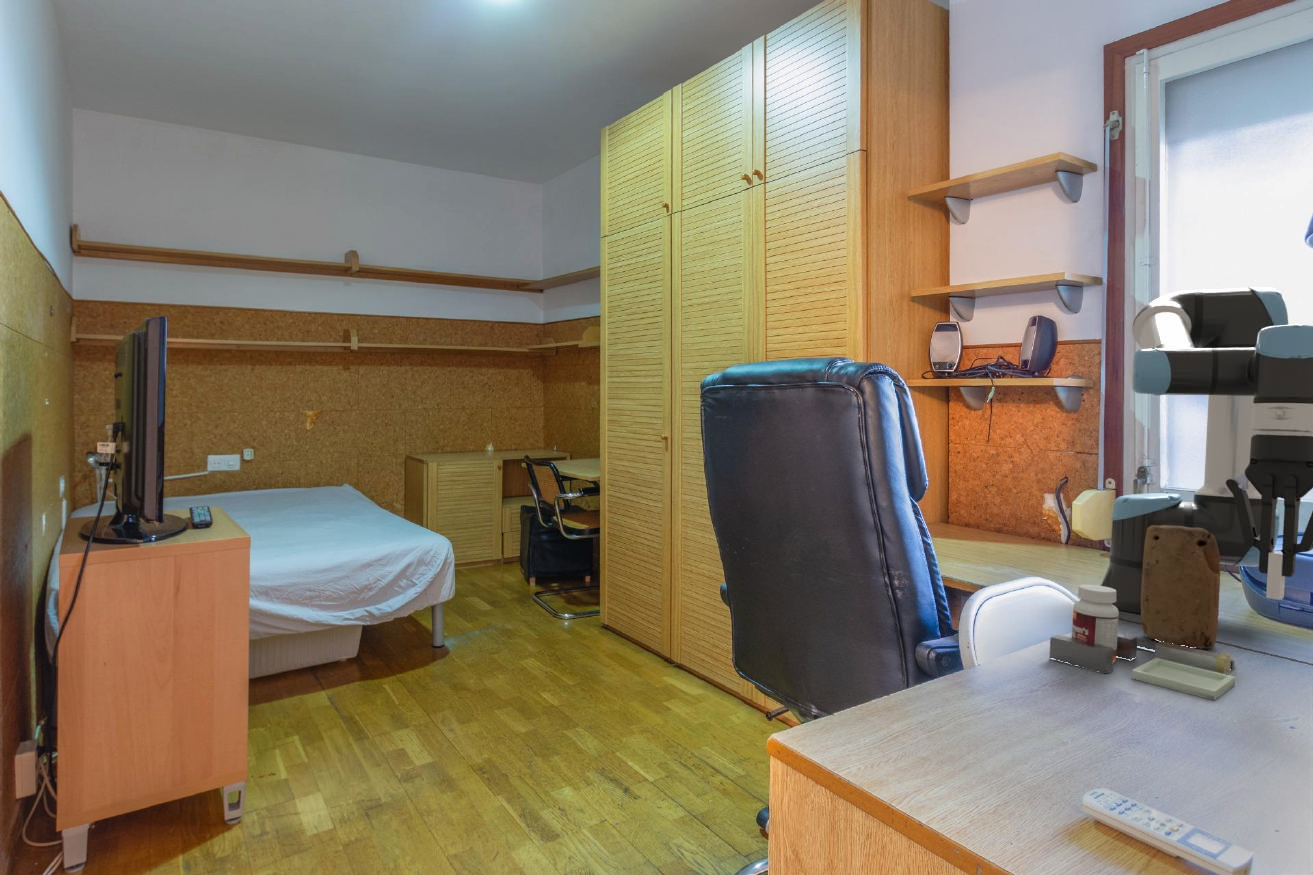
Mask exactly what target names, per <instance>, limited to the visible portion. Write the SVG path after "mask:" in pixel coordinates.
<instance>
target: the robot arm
mask: <svg viewBox="0 0 1313 875" xmlns="http://www.w3.org/2000/svg"><path fill="white" fill-rule="evenodd" d="M1132 336H1133V338H1134V341H1135V342H1136V343H1137V345H1139V346H1140V349H1138V350H1136V352H1135V353H1134V356H1133V361H1132V377H1131V378H1132V380H1131V381H1132V384H1131V385H1132V390H1133V391H1134V392H1135V393H1136V394H1140V395H1154V396H1170V395H1171V396H1174V395H1175V396H1208V399H1207V400H1208V402H1207V418H1206V419H1207V420H1206V421H1207V422H1206V440H1205V441H1206V443H1205V458H1204V459H1205V461H1204V462H1205V464H1204V480H1203V482H1204V483H1203V485H1202V487H1200V488H1199V489H1197V490H1196V491H1195V492H1194V495H1193V501H1183V497H1182V496H1181V494H1179V493H1172V492H1171V493H1168V492H1166V493H1164V492H1158V493H1157V492H1156V493H1155V492H1154V493H1153V492H1152V493H1151V492H1150V493H1134V494H1132V493H1131V494H1125V495H1121V496H1118V497H1117V498H1116V499H1115V500H1114V501H1113V505H1112V513H1111V516H1110V520H1111V531H1110V532H1111V535H1110V549H1109V564H1108V568H1107V570H1106V572H1105V574H1104V576H1103V578H1102V580H1101V583H1100V585H1099V586H1105V587H1109V588H1113V589H1115V590H1116V602H1115V603H1112V605H1114V606H1115V607H1116V608H1117V609H1118V610H1120V611H1125V612H1130V613H1136V614H1141V588H1142V571H1143V556H1144V547H1145V538H1146V533H1147V529H1148V527H1150V526H1161V525H1171V526H1185V527H1190V528H1203V529H1205V530H1207V531H1208V532H1209V533H1211V534H1212V535H1213V536H1214V538H1215V540H1216V542H1217V546H1218V551H1219V556H1220V565H1230V566H1232V567H1233V566H1234V567H1238V566H1239V567H1253V568H1254V567H1258V570H1259V573H1260V574H1267V576H1266V595H1265V597H1266V599H1270V600H1277V601H1278V600H1279V601H1280V600H1282V599H1284V598H1285V583H1286V582H1285V581H1286V577H1288V578H1292V577H1293V576H1295V573H1296V561H1297V560H1296V559H1297V558H1296V557H1297V554H1300V553H1307V552H1311V551H1312V550H1313V511H1312V512H1311V514H1310V517H1309V520H1308V522H1307V524H1306V527H1305V530H1304V533H1303V534H1302V536H1301V537H1302V538H1301V539H1300V540H1301V541H1300V543H1298V536H1299V520H1300V519H1299V518H1300V506H1301V500H1302V498H1304V497H1305V496H1306V495H1307V494H1308V493H1309V492H1310V491H1312V489H1313V324H1289V316H1288V308H1287V305H1286V301H1285V299H1284V296H1283V294H1282V293H1281V292H1280V291H1279V290H1277V289H1275V288H1273V287H1251V286H1248V287H1238V288H1235V287H1234V288H1219V289H1218V288H1217V289H1198V290H1197V289H1196V290H1193V289H1191V290H1189V289H1188V290H1181V291H1176V292H1173V293H1168V294H1166V295H1163V296H1161V297H1158V298H1156V299H1154V300H1152V301H1151V302H1149V303H1148V304H1146V305H1144V307H1143V308H1141V309H1140V311H1139V312H1138V313H1137V315H1136V316H1135V317H1134V320H1133V323H1132ZM1279 498H1280V499H1283V506H1284V511H1283V528H1282V529H1283V530H1282V545H1281V546H1282V548H1281V549H1280V551H1274V550H1275V548H1276V544H1277V540H1278V537H1279V536H1278V535H1279V532H1280V531H1279V530H1280V516H1281V515H1280V511H1279V510H1278V509H1277V505H1278V499H1279Z"/></svg>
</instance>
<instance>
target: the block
mask: <svg viewBox="0 0 1313 875" xmlns="http://www.w3.org/2000/svg"><path fill="white" fill-rule="evenodd" d="M1220 589H1221V564H1220V556H1219V551H1218V546H1217V542H1216V540H1215V538H1214V536H1213V535H1212V534H1211V533H1209V532H1208V531H1207V530H1205V529H1203V528H1190V527H1185V526H1171V525H1161V526H1150V527H1148V529H1147V533H1146V538H1145V547H1144V556H1143V571H1142V588H1141V613H1140V617H1141V618H1140V619H1141V626H1142V632H1144V635H1145V634H1146V635H1147V636H1148V637H1150V638H1152V639H1157V640H1159V641H1164V642H1168V643H1173V644H1177V645H1185V646H1188V647H1196V648H1207V649H1212V648H1214V647H1215V644H1216V641H1217V637H1218V632H1219V615H1220V614H1219V613H1220V612H1219V611H1220V610H1219V607H1220V606H1219V605H1220ZM1146 635H1145V636H1146ZM1147 636H1146V637H1147ZM1148 637H1147V638H1148ZM1150 638H1149V639H1150ZM1152 639H1151V640H1152ZM1196 648H1195V649H1196Z"/></svg>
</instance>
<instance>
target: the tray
mask: <svg viewBox="0 0 1313 875" xmlns="http://www.w3.org/2000/svg"><path fill="white" fill-rule="evenodd" d="M1132 678H1133V680H1135V679H1136V681H1139V680H1140V682H1142V683H1147V682H1148V683H1147V684H1152V685H1154V686H1155V685H1156V686H1159V687H1162V688H1167V689H1170V690H1175V691H1178V692H1180V693H1181V692H1182V693H1185V694H1188V695H1193V696H1197V697H1200V698H1204V699H1206V700H1207V699H1208V700H1212V701H1215V700H1217V699H1218V698H1220V697H1221V696H1222V695H1223V694H1225V693H1227V692H1228V691H1229V690H1230V689H1232V688H1233V687H1234V686H1235V685H1236V676H1233V675H1229V674H1227V675H1226V674H1221V673H1217V672H1213V671H1209V670H1205V669H1200V668H1196V667H1192V666H1188V665H1184V664H1180V663H1175V662H1171V661H1167V660H1163V659H1159V658H1155V657H1154V658H1152V659H1151V660H1149V661H1146V662H1145V663H1144V664H1141V665H1139V666H1137V667H1135V668H1134V669H1131V679H1132ZM1232 686H1233V687H1232Z"/></svg>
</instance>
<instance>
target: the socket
mask: <svg viewBox="0 0 1313 875" xmlns="http://www.w3.org/2000/svg"><path fill="white" fill-rule="evenodd" d="M1137 638H1138V636H1135V635H1132V634H1126V633H1123V632H1118V635H1117V651H1116V656H1118V657H1122V658H1126V659H1130V660H1131V659H1132V658H1135V657H1136V658H1137V653H1138V652H1137V650H1138V649H1137ZM1049 640H1050V642H1049V658H1054V659H1056V660H1060V661H1063V662H1068V663H1070V664H1072V665H1071V666H1073V665H1078V666H1080V667H1079V668H1081V667H1084V668H1087V669H1086V670H1088V669H1092V670H1094V671H1093V672H1096V671H1099V672H1101V673H1100V674H1103V673H1107V674H1109V673H1110V672H1109V671H1111V672H1113V664H1114V663H1113V648H1112V647H1108V646H1104V645H1099V644H1095V643H1091V642H1087V641H1083V640H1078V639H1074V638H1072V637H1070V636H1066V635H1061V634H1058V633H1057V634H1055V635H1053V636H1051V637H1050V639H1049ZM1112 663H1113V664H1112ZM1084 668H1083V669H1084ZM1092 670H1091V671H1092ZM1099 672H1098V673H1099ZM1108 672H1109V673H1108Z"/></svg>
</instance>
